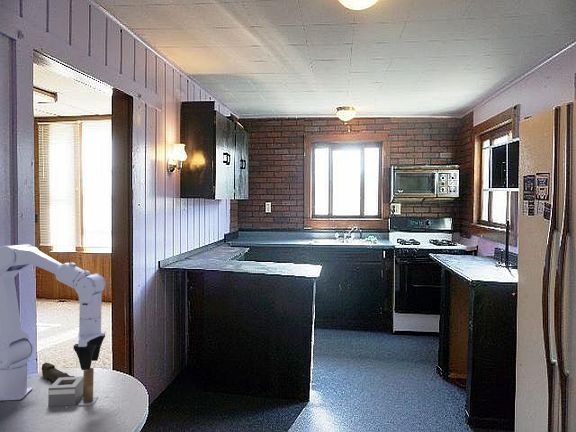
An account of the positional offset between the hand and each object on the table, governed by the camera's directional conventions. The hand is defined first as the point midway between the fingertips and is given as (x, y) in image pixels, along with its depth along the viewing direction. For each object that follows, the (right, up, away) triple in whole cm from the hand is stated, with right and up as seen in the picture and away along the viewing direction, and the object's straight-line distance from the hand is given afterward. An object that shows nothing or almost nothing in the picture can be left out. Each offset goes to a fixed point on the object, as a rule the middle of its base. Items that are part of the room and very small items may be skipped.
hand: (89, 364), depth 125 cm
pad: (0, -10, 0) cm, 10 cm away
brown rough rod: (-17, -11, +14) cm, 25 cm away
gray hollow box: (-7, -10, +1) cm, 13 cm away
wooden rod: (0, -10, 0) cm, 10 cm away
